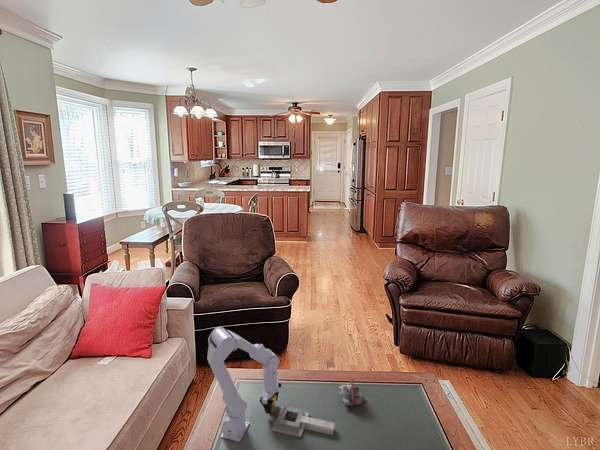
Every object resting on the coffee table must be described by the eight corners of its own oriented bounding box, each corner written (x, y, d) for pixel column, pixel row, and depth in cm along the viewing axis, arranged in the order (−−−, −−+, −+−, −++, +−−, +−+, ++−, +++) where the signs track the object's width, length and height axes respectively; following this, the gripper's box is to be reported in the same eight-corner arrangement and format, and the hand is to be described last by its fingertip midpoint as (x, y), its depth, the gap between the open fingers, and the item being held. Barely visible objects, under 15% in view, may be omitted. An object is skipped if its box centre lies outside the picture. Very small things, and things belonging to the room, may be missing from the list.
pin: (274, 415, 146) (274, 401, 144) (264, 413, 147) (264, 398, 145) (278, 407, 150) (277, 393, 148) (268, 405, 151) (268, 391, 149)
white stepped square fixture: (330, 444, 131) (330, 437, 131) (271, 430, 138) (271, 424, 137) (336, 420, 143) (336, 414, 142) (282, 408, 149) (281, 402, 148)
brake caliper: (369, 405, 147) (352, 385, 145) (348, 418, 149) (331, 398, 147) (365, 386, 158) (350, 368, 156) (346, 398, 160) (330, 380, 158)
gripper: (273, 392, 137) (274, 421, 140) (285, 369, 150) (286, 396, 154) (256, 388, 139) (258, 417, 142) (269, 366, 152) (271, 393, 156)
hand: (271, 406), depth 148 cm, fingers open, 7 cm apart
